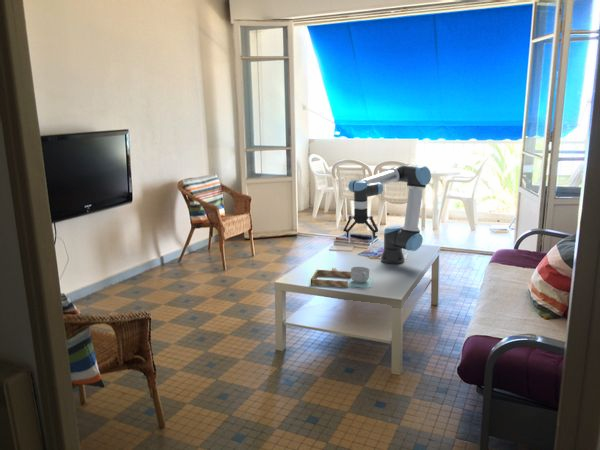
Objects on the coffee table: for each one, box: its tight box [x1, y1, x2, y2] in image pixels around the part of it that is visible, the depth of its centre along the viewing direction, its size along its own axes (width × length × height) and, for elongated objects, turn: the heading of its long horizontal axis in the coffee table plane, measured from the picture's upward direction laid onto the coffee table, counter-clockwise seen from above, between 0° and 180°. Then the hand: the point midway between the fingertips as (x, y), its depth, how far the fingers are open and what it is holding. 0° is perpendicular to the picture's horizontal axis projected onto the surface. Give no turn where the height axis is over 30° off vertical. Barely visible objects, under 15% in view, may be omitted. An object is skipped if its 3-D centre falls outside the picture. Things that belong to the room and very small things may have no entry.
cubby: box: [310, 269, 351, 288], centre depth 311 cm, size 22×19×4 cm
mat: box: [347, 278, 373, 289], centre depth 308 cm, size 13×16×1 cm
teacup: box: [350, 266, 370, 283], centre depth 307 cm, size 14×11×8 cm
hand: (360, 243), depth 311 cm, fingers open, 13 cm apart
